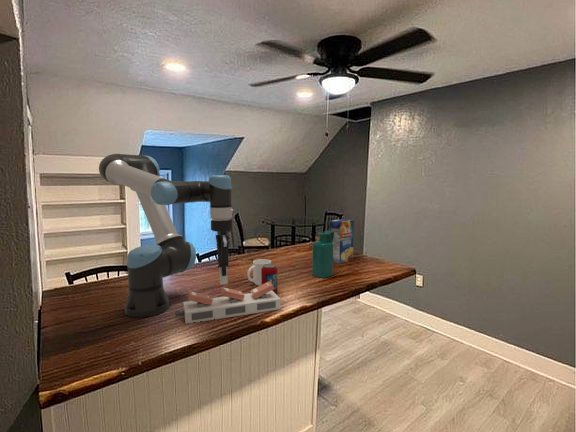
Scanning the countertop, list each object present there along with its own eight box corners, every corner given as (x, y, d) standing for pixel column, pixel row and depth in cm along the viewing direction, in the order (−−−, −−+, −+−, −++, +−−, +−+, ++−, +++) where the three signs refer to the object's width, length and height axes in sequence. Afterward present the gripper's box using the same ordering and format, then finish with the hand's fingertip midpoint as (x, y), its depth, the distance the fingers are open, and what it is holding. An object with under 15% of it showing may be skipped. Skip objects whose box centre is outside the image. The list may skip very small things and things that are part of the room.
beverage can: (271, 296, 134) (271, 268, 133) (258, 293, 138) (258, 266, 136) (280, 291, 140) (280, 264, 138) (267, 288, 143) (267, 262, 142)
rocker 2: (222, 295, 116) (224, 290, 116) (220, 291, 120) (221, 286, 120) (243, 300, 119) (244, 295, 119) (240, 296, 123) (241, 291, 123)
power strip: (176, 325, 108) (175, 310, 107) (175, 313, 117) (174, 299, 117) (280, 309, 121) (280, 295, 121) (272, 299, 131) (272, 287, 130)
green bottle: (322, 279, 157) (323, 234, 154) (310, 275, 163) (310, 232, 161) (336, 274, 163) (336, 231, 161) (323, 271, 170) (324, 229, 167)
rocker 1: (188, 300, 111) (190, 294, 111) (187, 295, 116) (189, 290, 116) (211, 304, 114) (212, 299, 114) (209, 300, 119) (211, 295, 119)
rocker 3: (255, 298, 120) (253, 294, 120) (252, 294, 124) (250, 290, 124) (274, 289, 123) (272, 284, 122) (270, 285, 127) (269, 280, 126)
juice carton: (343, 257, 197) (344, 218, 194) (353, 260, 192) (353, 220, 189) (329, 261, 190) (330, 220, 187) (339, 263, 184) (340, 222, 181)
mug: (252, 288, 143) (251, 266, 142) (243, 283, 150) (242, 262, 149) (274, 283, 151) (274, 261, 149) (264, 279, 157) (264, 258, 156)
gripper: (235, 220, 110) (237, 288, 113) (228, 216, 122) (230, 277, 125) (213, 222, 107) (216, 290, 110) (208, 217, 119) (210, 279, 122)
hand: (223, 283), depth 117 cm, fingers closed
